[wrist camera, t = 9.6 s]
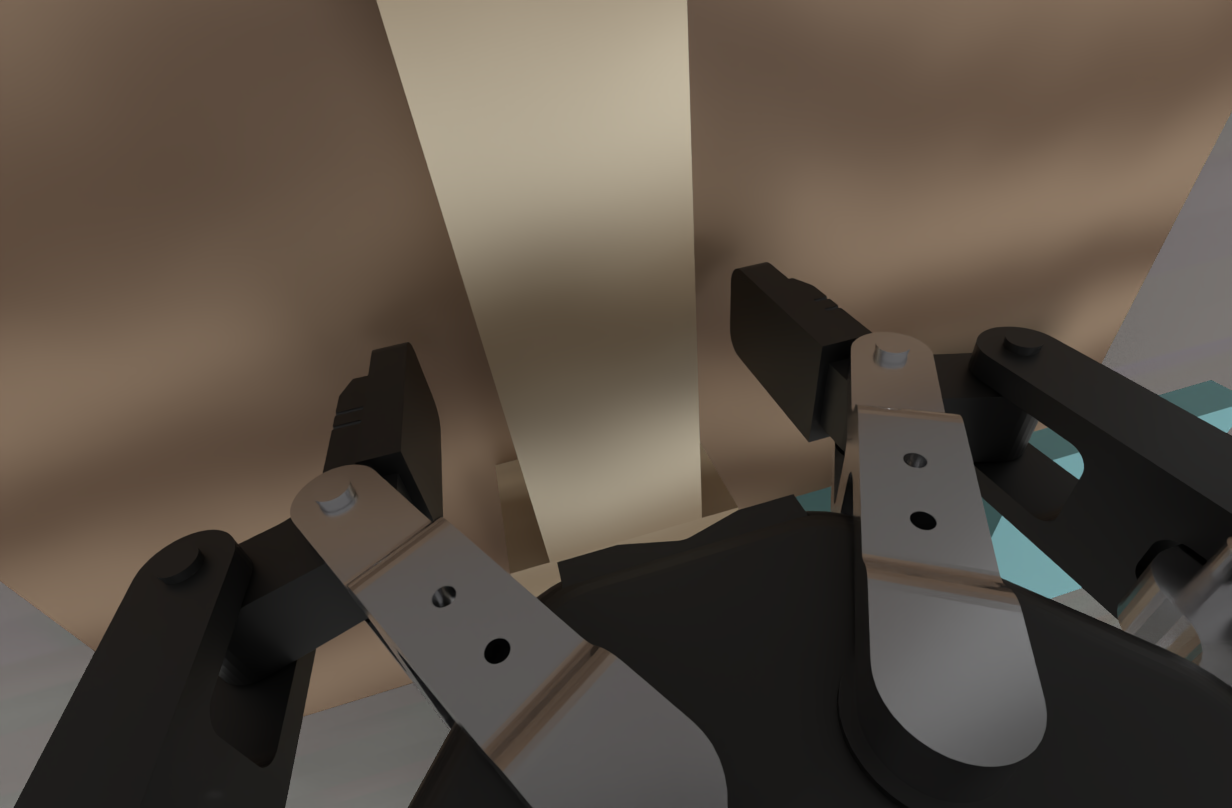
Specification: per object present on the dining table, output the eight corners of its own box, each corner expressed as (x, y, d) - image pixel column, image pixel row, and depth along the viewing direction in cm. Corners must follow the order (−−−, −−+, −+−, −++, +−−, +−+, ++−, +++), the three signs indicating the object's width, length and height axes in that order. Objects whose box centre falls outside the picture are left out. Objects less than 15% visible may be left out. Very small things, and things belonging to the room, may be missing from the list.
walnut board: (1014, 474, 27) (1034, 491, 26) (226, 711, 22) (218, 742, 21) (1430, -410, 11) (1518, -445, 10) (-961, -262, 7) (-1189, -301, 6)
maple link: (690, 535, 21) (734, 629, 18) (535, 581, 21) (554, 687, 18) (657, -125, 10) (760, -172, 7) (305, -81, 9) (243, -110, 6)
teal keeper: (1006, 465, 24) (1131, 571, 20) (759, 539, 23) (837, 670, 18) (1080, 303, 19) (1266, 396, 15) (771, 383, 18) (881, 511, 14)
